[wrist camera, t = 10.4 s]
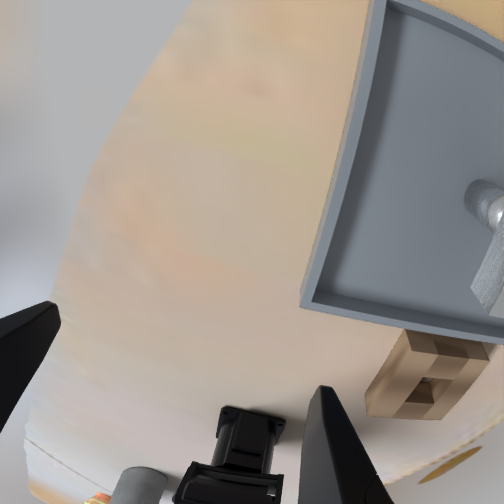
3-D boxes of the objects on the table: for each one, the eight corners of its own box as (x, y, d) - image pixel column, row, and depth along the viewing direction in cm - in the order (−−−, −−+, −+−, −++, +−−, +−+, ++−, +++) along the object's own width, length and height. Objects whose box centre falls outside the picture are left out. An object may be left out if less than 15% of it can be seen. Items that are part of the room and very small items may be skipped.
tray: (507, 331, 20) (515, 346, 19) (300, 289, 22) (299, 307, 20) (588, 121, 11) (604, 126, 10) (370, -4, 12) (376, -15, 11)
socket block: (435, 400, 25) (440, 420, 23) (364, 393, 25) (366, 415, 23) (480, 340, 21) (489, 360, 19) (404, 328, 22) (411, 350, 20)
